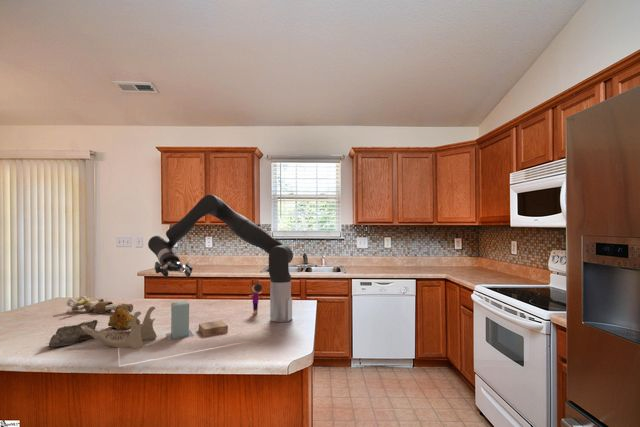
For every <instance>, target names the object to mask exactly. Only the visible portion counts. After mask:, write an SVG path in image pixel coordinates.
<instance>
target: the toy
mask: <svg viewBox="0 0 640 427" xmlns="http://www.w3.org/2000/svg"><path fill="white" fill-rule="evenodd" d="M252 284H253V286H252V287H251V291H252V294H250V295H248V297H249V298H251V297H252V308H253V312H252V313H251V314H252V315H258V307H259V306H258V305H259V295H260V294H263V291H262V290H263V287H262V284H261V283H259V282H257V281H256V282H254V283H252Z"/></svg>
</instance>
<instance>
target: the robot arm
mask: <svg viewBox="0 0 640 427" xmlns="http://www.w3.org/2000/svg"><path fill="white" fill-rule="evenodd" d="M207 215H209V216H212V217H215V218H216V219H218V220H220V221H221V222H222V223H224V224H226V226H227V227H228V228H229V229H230V230H231V231H232V233H234V234H235V235H236V236H238V238H240V239H241V240H243V241H244V242H245V243H248V244H250V245H251V246H253V247H256V248H259V249H261V250H263V251H264V252H266V253H267V254H268V276H269V277H270V281H269V282H270V284H269V285H270V287H269V290H270V292H269V294H270V295H269V296H270V297H269V298H270V299H269V303H270V305H269V310H270V312H269V319H270V321H271V322H274V323H284V322H285V323H286V322H290V320H292V319H293V297H292V290H291V289H292V288H291V287H292V275H291V274H290V271H289V263H291V262H292V261H293V258H294V252H293V251H292V249H291V248H290V247H289V246H288V245H286V244H284V243H282V242H280V241H278V240H277V239H276V238H274V237H272V236H271V235H270V234H268V233H267V232H266V231H265V230H263V229H262V228H261V227H260V226H258V225H257V224H256V223H254V222H253V221H252V220H250V219H249V218H247V217H246V216H244V215H242V214H240V213H238V212H236V211H235V210H234V209H232V208H231V207H230V206H229V205H228V204H226V202H224V200H222V199H221V198H219V196H216V195H215V194H214V195H213V194H210V193H209V194H205V195H203V197H202V198H200V199H199V201H198V202H197V203H196V204H195V205H194V206H193V207H192V208H191V209H190V210H189V211H188V213H186V214H185V216H183V218H181V219H180V220H179V221H178V222H176V223H175V224H174V225H173V226H171V227H170V228H168V230H166V232H165V235H166V238H167V239H168V240H166V239H164V238H163V237H162V236H160V235H154V236H152V237H151V238H149V240H148V243H147V246H148V249H149V250H150V251H151V252H152V253H153V254H154V255H155V256H156V258H157V260H158V261H155V263H154V265H153V266H154V271H155V273H156V274H159V273H160V274H161V275H162V276H164V278H168V276H169V272H177V273H180V274H182V273H183V274H184V275H185V276H186V277H187V278H190V276H191V274H192V273H193V268H194V267H193V266H192V265H191V264H190V262H186V263H185V264H183V263H182V262H181V260H180V258H179V256H178V255H177V253H176V252H175V251H174V250H173V248H174V247H175V245H176V244H177V243H178V242H179V241H180V240H181V239H182V238H184V237H185V236H187V235H188V234H189V233H190V231H192V230H193V228H194V226H195V225H196V224H197V222H198V221H199V220H201V219H202V218H203V217H205V216H207Z"/></svg>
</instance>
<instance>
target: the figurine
mask: <svg viewBox="0 0 640 427" xmlns="http://www.w3.org/2000/svg"><path fill="white" fill-rule="evenodd" d="M90 300H91V298H89V296H85V295H82V296H79V298H78V299H77V300H76V299H73V298H70V299H69V298H68V300H67V302H66V305H67V306H68V307H70V308H68V309H67V312H69V313H72V312H75V311H83V310H85V312H86V313H87V314H89V312H90V313H91V312H95V313H100V314H107V313H108V312H109V311H111V312H115V311H116V310H117V309H119V308H123V309H124V310H126V311H127V312H128V313H131V311H132V312H133V311H134V305H133V304H132V303H124V302H119V303H117V304H114V303H113V302H112V301H108V300H107V297H106V298H101V299H97V300H95V301H93V302H90ZM106 312H107V313H106Z"/></svg>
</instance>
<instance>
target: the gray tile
mask: <svg viewBox="0 0 640 427" xmlns="http://www.w3.org/2000/svg"><path fill="white" fill-rule="evenodd" d="M165 336H166V339H167V340H168V341H174V340H180V339H187V338H193V337H195V334H194V333H193V332H192V331H191V329H189V336H184V337H178V338H173V337H172V335H171V332H168V333H165Z"/></svg>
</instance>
